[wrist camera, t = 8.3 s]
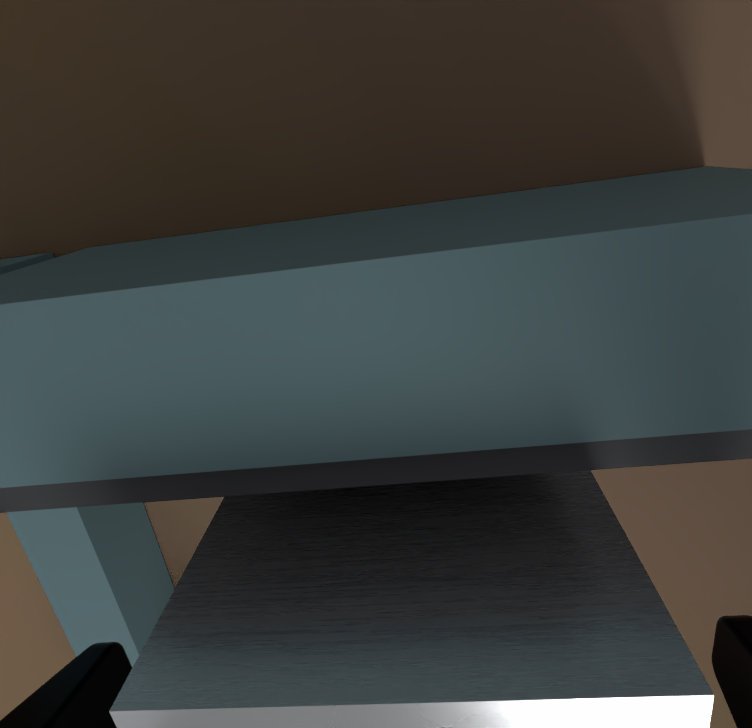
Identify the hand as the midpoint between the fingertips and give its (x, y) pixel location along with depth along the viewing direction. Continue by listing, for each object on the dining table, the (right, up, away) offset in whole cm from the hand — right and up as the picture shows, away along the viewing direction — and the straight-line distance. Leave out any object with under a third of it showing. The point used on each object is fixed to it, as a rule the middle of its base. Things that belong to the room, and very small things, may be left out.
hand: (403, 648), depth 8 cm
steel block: (0, +2, +4) cm, 5 cm away
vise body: (0, -4, +7) cm, 8 cm away
